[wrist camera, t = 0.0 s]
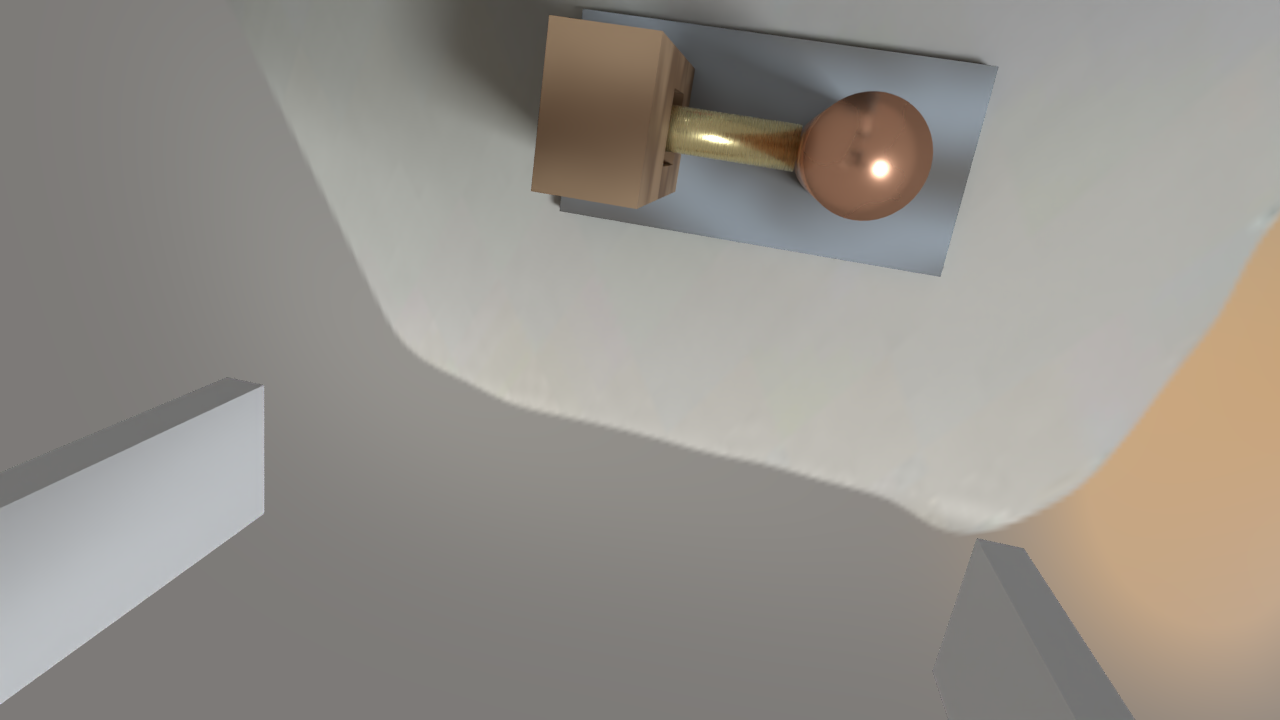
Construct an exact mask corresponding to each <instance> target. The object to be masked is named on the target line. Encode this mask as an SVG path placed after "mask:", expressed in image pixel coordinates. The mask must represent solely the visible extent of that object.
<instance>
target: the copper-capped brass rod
mask: <svg viewBox="0 0 1280 720" xmlns="http://www.w3.org/2000/svg"><path fill="white" fill-rule="evenodd" d="M665 151H666V152H672V153H679V154H685V155H691V156H697V157H704V158H710V159H716V160H722V161H729V162H735V163H741V164H747V165H754V166H760V167H766V168H772V169H779V170H785V171H791V172H793V169H794V171H795V174H796V176H797V179H798V180H799V182H800V184H801V185H802V186H803V187H804V188H805V189H806V190H807V191H808V192H809V193H810V194H811V195H812V196H813V197H814V198H815V199H816V200H817V201H818V202H819V203H820V204H821V205H822V206H823V207H825V208H826V209H827V210H829V211H830V212H832V213H834V214H836V215H838V216H840V217H843V218H846V219H850V220H857V221H870V220H876V219H880V218H884V217H887V216H889V215H891V214H894V213H895V212H897V211H899V210H900V209H902V208H903V207H905V206H906V205H907V204H908V203H909V202H910V201H912V200H913V199H914V198H915V196H916V195H917V194H918V193H919V191H920V190H921V188H922V187H923V185H924V184H925V182H926V180H927V177H928V175H929V172H930V169H931V165H932V160H933V141H932V137H931V133H930V130H929V127H928V125H927V123H926V121H925V119H924V118H923V116H922V115H921V113H920V112H919V111H918V110H917V109H916V108H915V107H914V106H913V105H912V104H910V103H909V102H908V101H906V100H905V99H903V98H901V97H899V96H896V95H894V94H891V93H886V92H880V91H866V92H861V93H856V94H853V95H850V96H847V97H845V98H843V99H841V100H839V101H838V102H836V103H835V104H833V105H832V106H830V107H829V108H827V109H826V110H824V111H823V112H821V113H820V114H818V115H817V116H816V117H814V118H813V119H812V120H810V121H809V122H808V123H807V124H806V125H805V126H804V128H803V129H802V124H796V123H789V122H782V121H776V120H769V119H763V118H756V117H750V116H743V115H737V114H730V113H723V112H717V111H710V110H704V109H697V108H691V107H684V106H678V105H672V109H671V115H670V122H669V128H668V135H667V141H666V148H665Z"/></svg>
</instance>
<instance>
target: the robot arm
mask: <svg viewBox="0 0 1280 720" xmlns="http://www.w3.org/2000/svg"><path fill="white" fill-rule="evenodd" d="M263 514H264V385H261V384H256V383H252V382H247V381H243V380H238V379H233V378H229V377H226V378H224V379H222V380H219V381H217V382H214V383H212V384H210V385H207V386H205V387H202V388H200V389H198V390H195V391H193V392H191V393H188V394H186V395H183V396H181V397H179V398H176V399H174V400H171V401H169V402H167V403H164V404H162V405H160V406H157V407H155V408H152V409H150V410H148V411H145V412H143V413H141V414H138V415H136V416H134V417H131V418H129V419H126V420H124V421H121V422H119V423H117V424H115V425H112V426H110V427H107V428H105V429H102V430H100V431H98V432H95V433H93V434H91V435H88V436H86V437H83V438H81V439H79V440H76V441H74V442H72V443H69V444H67V445H64V446H62V447H60V448H57V449H55V450H52V451H51V452H48V453H45V454H43V455H41V456H38V457H36V458H33V459H31V460H29V461H26V462H24V463H22V464H19V465H17V466H15V467H12V468H10V469H7V470H5V471H3V472H0V704H1V703H3V702H4V701H5V700H7V699H8V698H9V697H11V696H12V695H14V694H15V693H16V692H18V691H19V690H21V689H22V688H23V687H25V686H26V685H27V684H29V683H30V682H32V681H33V680H34V679H36V678H37V677H38V676H40V675H41V674H43V673H44V672H46V671H47V670H48V669H50V668H51V667H52V666H54V665H55V664H57V663H58V662H59V661H61V660H62V659H63V658H65V657H66V656H68V655H69V654H70V653H72V652H73V651H75V650H76V649H77V648H79V647H80V646H81V645H83V644H84V643H86V642H87V641H88V640H90V639H91V638H93V637H94V636H95V635H97V634H98V633H99V632H101V631H102V630H103V629H105V628H106V627H108V626H109V625H110V624H112V623H113V622H115V621H116V620H117V619H119V618H120V617H122V616H123V615H124V614H126V613H127V612H128V611H130V610H131V609H133V608H134V607H135V606H137V605H138V604H139V603H141V602H142V601H144V600H145V599H146V598H147V597H149V596H151V595H152V594H153V593H155V592H156V591H158V590H159V589H160V588H162V587H163V586H164V585H166V584H167V583H169V582H170V581H171V580H173V579H174V578H176V577H177V576H178V575H180V574H181V573H182V572H184V571H185V570H186V569H188V568H189V567H191V566H192V565H193V564H195V563H196V562H198V561H199V560H200V559H202V558H203V557H205V556H206V555H207V554H209V553H210V552H211V551H213V550H214V549H215V548H217V547H218V546H219V545H221V544H223V543H224V542H225V541H227V540H228V539H229V538H231V537H232V536H234V535H235V534H236V533H238V532H239V531H240V530H242V529H243V528H245V527H246V526H247V525H249V524H250V523H251V522H253V521H254V520H256V519H257V518H258V517H260V516H261V515H263ZM933 675H934V678H935V681H936V684H937V687H938V690H939V693H940V696H941V700H942V703H943V706H944V709H945V712H946V715H947V718H948V720H1135V719H1134V717H1133V715H1132V714H1131V712H1130V711H1129V709H1128V708H1127V706H1126V705H1125V703H1124V702H1123V700H1122V699H1121V697H1120V695H1119V694H1118V693H1117V691H1116V689H1115V688H1114V686H1113V685H1112V683H1111V682H1110V680H1109V679H1108V677H1107V675H1106V674H1105V672H1104V671H1103V669H1102V668H1101V666H1100V665H1099V663H1098V662H1097V660H1096V659H1095V657H1094V656H1093V654H1092V652H1091V651H1090V649H1089V648H1088V646H1087V645H1086V643H1085V642H1084V641H1083V639H1082V637H1081V636H1080V634H1079V632H1078V631H1077V630H1076V628H1075V627H1074V625H1073V623H1072V622H1071V620H1070V619H1069V617H1068V616H1067V614H1066V612H1065V611H1064V610H1063V608H1062V606H1061V605H1060V603H1059V602H1058V600H1057V599H1056V597H1055V596H1054V594H1053V593H1052V591H1051V589H1050V588H1049V586H1048V585H1047V584H1046V582H1045V580H1044V579H1043V577H1042V576H1041V574H1040V573H1039V571H1038V569H1037V568H1036V566H1035V565H1034V563H1033V562H1032V560H1031V559H1030V557H1029V556H1028V554H1027V553H1026V551H1025V550H1024V548H1019V547H1015V546H1010V545H1006V544H1001V543H996V542H992V541H987V540H983V539H978V538H977V539H976V542H975V545H974V548H973V551H972V554H971V557H970V561H969V563H968V566H967V569H966V572H965V575H964V578H963V581H962V585H961V587H960V590H959V593H958V596H957V600H956V602H955V605H954V609H953V611H952V614H951V618H950V621H949V623H948V626H947V630H946V632H945V635H944V638H943V641H942V645H941V647H940V651H939V653H938V657H937V659H936V663H935V666H934V669H933Z"/></svg>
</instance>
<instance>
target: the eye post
mask: <svg viewBox="0 0 1280 720" xmlns="http://www.w3.org/2000/svg"><path fill="white" fill-rule="evenodd" d="M997 71H998V66H991V65H983V64H976V63H969V62H962V61H955V60H948V59H940V58H933V57H926V56H919V55H912V54H904V53H897V52H890V51H883V50H876V49H869V48H861V47H854V46H847V45H840V44H833V43H826V42H818V41H811V40H804V39H797V38H790V37H783V36H775V35H768V34H761V33H754V32H747V31H739V30H732V29H725V28H718V27H711V26H704V25H696V24H689V23H682V22H675V21H668V20H661V19H653V18H646V17H639V16H632V15H625V14H618V13H610V12H603V11H596V10H589V9H583V13H582V20H581V19H574V18H567V17H560V16H553V15H549V22H548V31H547V41H546V51H545V61H544V70H543V80H542V90H541V99H540V109H539V119H538V128H537V138H536V148H535V157H534V167H533V177H532V187H531V191H534V192H540V193H545V194H551V195H557V196H561V204H560V211H562V212H568V213H574V214H580V215H586V216H591V217H597V218H603V219H609V220H615V221H620V222H626V223H632V224H638V225H643V226H649V227H655V228H661V229H667V230H672V231H678V232H684V233H690V234H696V235H701V236H707V237H713V238H719V239H725V240H730V241H736V242H742V243H748V244H753V245H759V246H765V247H771V248H777V249H782V250H788V251H794V252H800V253H806V254H811V255H817V256H823V257H829V258H835V259H840V260H846V261H852V262H858V263H864V264H869V265H875V266H881V267H887V268H892V269H898V270H904V271H910V272H916V273H921V274H927V275H933V276H939V277H940V276H941V273H942V269H943V265H944V262H945V258H946V255H947V251H948V247H949V244H950V240H951V237H952V233H953V229H954V226H955V222H956V219H957V215H958V211H959V208H960V204H961V201H962V197H963V193H964V190H965V186H966V182H967V179H968V175H969V172H970V168H971V164H972V161H973V157H974V154H975V150H976V146H977V143H978V139H979V136H980V132H981V128H982V125H983V121H984V118H985V114H986V110H987V107H988V103H989V100H990V96H991V92H992V89H993V85H994V82H995V78H996V74H997ZM866 91H880V92H886V93H891V94H894V95H896V96H899V97H901V98H903V99H905V100H906V101H908V102H909V103H910V104H912V105H913V106H914V107H915V108H916V109H917V110H918V111H919V112H920V113H921V115H922V116H923V118H924V119H925V121H926V123H927V125H928V127H929V130H930V133H931V137H932V141H933V160H932V165H931V169H930V172H929V175H928V177H927V180H926V182H925V184H924V185H923V187H922V188H921V190H920V191H919V193H918V194H917V195H916V196H915V198H914V199H913V200H912V201H910V202H909V203H908V204H907V205H906V206H905V207H903V208H902V209H900V210H899V211H897V212H895V213H894V214H891V215H889V216H887V217H884V218H880V219H876V220H870V221H857V220H850V219H846V218H843V217H840V216H838V215H836V214H834V213H832V212H830V211H829V210H827V209H826V208H825V207H823V206H822V205H821V204H820V203H819V202H818V201H817V200H816V199H815V198H814V197H813V196H812V195H811V194H810V193H809V192H808V191H807V190H806V189H805V188H804V187H803V186H802V185H801V184H800V182H799V180H798V179H797V176H796V174H795V171H794V169H793V172H791V171H785V170H779V169H772V168H766V167H760V166H754V165H747V164H741V163H735V162H729V161H722V160H716V159H710V158H704V157H697V156H691V155H685V154H679V153H672V152H666V151H665V148H666V141H667V135H668V128H669V122H670V115H671V109H672V105H678V106H684V107H691V108H697V109H704V110H710V111H717V112H723V113H730V114H737V115H743V116H750V117H756V118H763V119H769V120H776V121H782V122H789V123H796V124H802V129H803V128H804V126H805V125H806V124H807V123H808V122H809V121H810V120H812V119H813V118H814V117H816V116H817V115H818V114H820V113H821V112H823V111H824V110H826V109H827V108H829V107H830V106H832V105H833V104H835V103H836V102H838V101H839V100H841V99H843V98H845V97H847V96H850V95H853V94H856V93H861V92H866Z"/></svg>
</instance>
